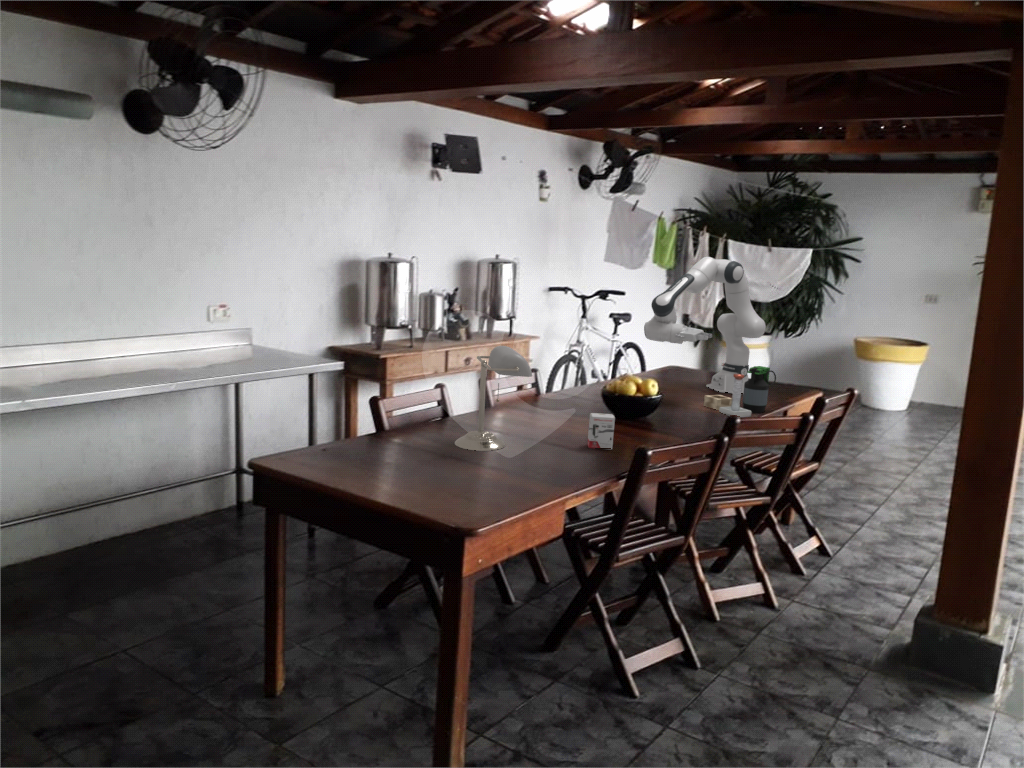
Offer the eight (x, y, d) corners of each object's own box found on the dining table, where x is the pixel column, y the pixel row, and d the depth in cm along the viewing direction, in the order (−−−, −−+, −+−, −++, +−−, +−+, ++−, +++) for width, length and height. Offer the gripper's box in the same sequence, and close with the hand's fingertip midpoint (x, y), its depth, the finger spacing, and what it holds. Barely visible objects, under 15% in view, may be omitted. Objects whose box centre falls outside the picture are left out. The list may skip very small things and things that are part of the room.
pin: (727, 411, 352) (731, 373, 349) (735, 411, 354) (739, 373, 351) (734, 414, 348) (738, 375, 345) (742, 413, 350) (746, 375, 347)
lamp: (531, 454, 271) (537, 355, 264) (460, 454, 266) (464, 354, 259) (514, 434, 296) (520, 343, 290) (449, 434, 291) (453, 342, 284)
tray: (718, 412, 353) (719, 407, 353) (735, 411, 357) (736, 406, 357) (733, 417, 345) (734, 412, 344) (750, 416, 349) (751, 410, 348)
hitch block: (703, 406, 365) (704, 395, 364) (719, 405, 369) (720, 394, 368) (716, 410, 357) (717, 399, 356) (732, 409, 361) (733, 398, 360)
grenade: (772, 410, 364) (778, 367, 360) (759, 414, 354) (764, 370, 350) (751, 406, 371) (755, 363, 367) (737, 410, 361) (742, 366, 357)
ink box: (588, 448, 282) (590, 416, 280) (587, 444, 287) (589, 412, 285) (612, 449, 282) (615, 417, 280) (611, 446, 287) (613, 414, 285)
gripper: (674, 328, 353) (706, 332, 347) (684, 325, 371) (714, 328, 366) (673, 343, 354) (704, 346, 349) (683, 338, 372) (713, 341, 367)
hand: (709, 337), depth 357 cm, fingers open, 8 cm apart
